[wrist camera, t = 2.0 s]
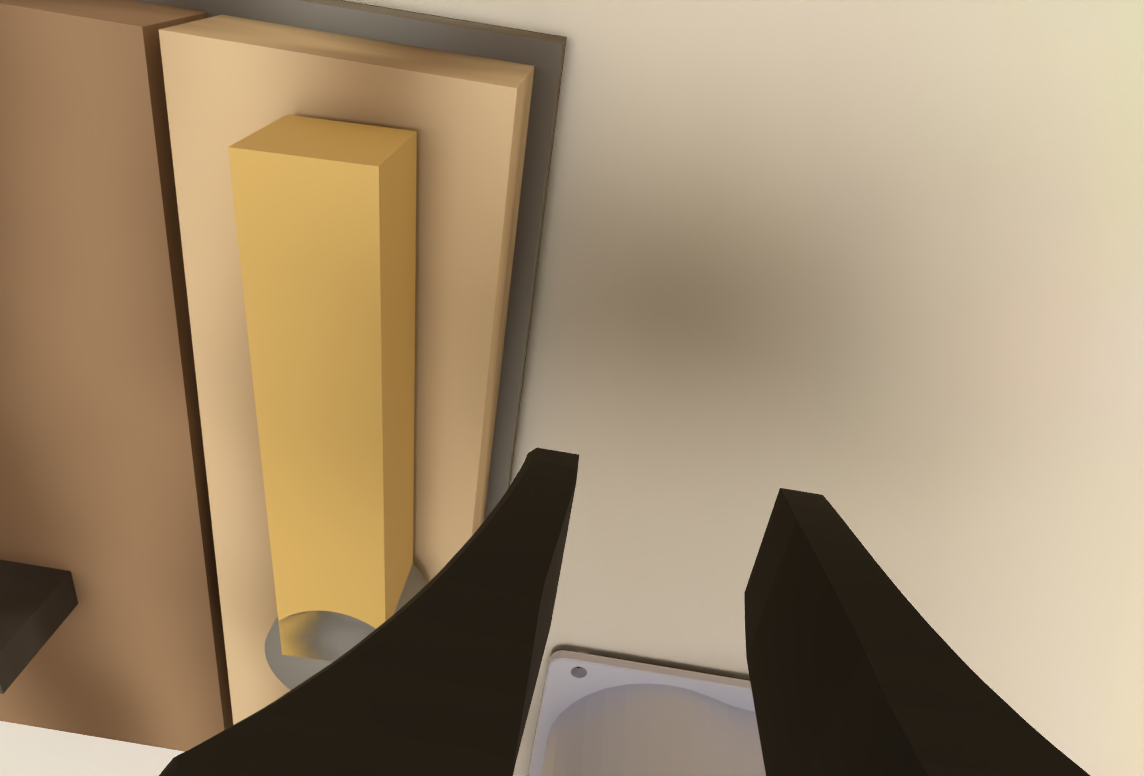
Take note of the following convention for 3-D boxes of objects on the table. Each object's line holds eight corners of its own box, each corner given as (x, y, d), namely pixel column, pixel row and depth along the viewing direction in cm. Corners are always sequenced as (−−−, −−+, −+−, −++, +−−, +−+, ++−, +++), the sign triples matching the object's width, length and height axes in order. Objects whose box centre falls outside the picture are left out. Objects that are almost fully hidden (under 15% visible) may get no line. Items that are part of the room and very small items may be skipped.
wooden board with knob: (566, 37, 17) (525, 96, 12) (480, 712, 29) (438, 907, 23) (-222, -92, 17) (-634, -94, 12) (-1, 632, 29) (-161, 808, 23)
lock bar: (427, 640, 22) (402, 718, 19) (307, 623, 22) (270, 699, 20) (438, 134, 15) (403, 169, 13) (265, 111, 15) (203, 143, 13)
